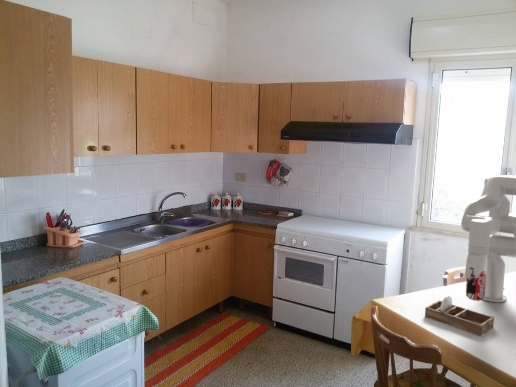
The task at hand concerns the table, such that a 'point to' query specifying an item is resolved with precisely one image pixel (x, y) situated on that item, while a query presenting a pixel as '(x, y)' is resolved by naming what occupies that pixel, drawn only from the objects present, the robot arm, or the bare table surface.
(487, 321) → the rack
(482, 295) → the soda can
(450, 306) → the plate
